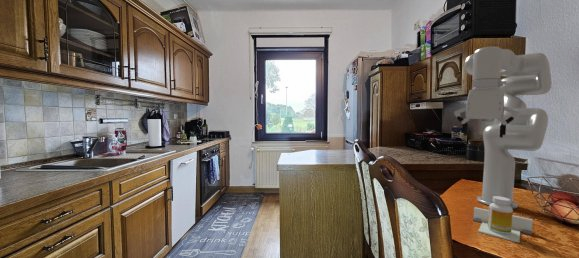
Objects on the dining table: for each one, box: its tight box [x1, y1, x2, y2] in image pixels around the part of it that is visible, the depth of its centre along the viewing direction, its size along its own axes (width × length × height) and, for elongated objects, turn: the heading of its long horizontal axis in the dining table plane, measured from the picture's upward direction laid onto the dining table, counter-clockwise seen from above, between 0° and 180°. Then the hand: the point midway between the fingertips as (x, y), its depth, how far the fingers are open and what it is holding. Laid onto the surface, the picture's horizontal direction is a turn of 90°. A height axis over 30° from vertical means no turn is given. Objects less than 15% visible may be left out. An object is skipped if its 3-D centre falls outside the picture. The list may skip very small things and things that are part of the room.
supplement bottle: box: [488, 196, 514, 234], centre depth 75 cm, size 5×5×10 cm
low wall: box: [472, 207, 534, 235], centre depth 80 cm, size 3×14×4 cm, turn 47°
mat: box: [477, 222, 521, 244], centre depth 75 cm, size 9×9×1 cm
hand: (482, 136), depth 87 cm, fingers open, 9 cm apart
